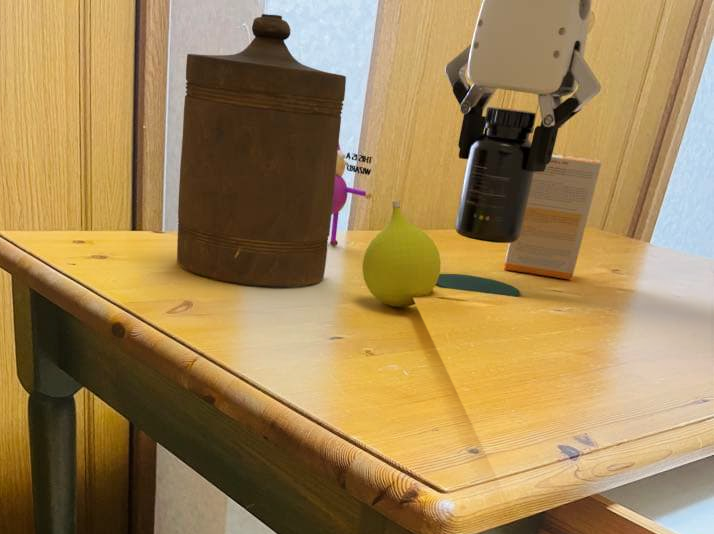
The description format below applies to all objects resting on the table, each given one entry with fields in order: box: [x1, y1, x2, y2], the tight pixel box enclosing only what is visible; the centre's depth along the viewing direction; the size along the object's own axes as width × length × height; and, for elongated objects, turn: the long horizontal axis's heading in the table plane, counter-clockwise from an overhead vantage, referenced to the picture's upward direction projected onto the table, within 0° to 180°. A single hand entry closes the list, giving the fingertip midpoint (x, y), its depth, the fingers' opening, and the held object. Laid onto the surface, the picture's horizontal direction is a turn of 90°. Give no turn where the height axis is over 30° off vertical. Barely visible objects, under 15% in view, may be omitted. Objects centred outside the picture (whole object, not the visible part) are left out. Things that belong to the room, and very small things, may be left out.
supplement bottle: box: [454, 106, 537, 244], centre depth 85 cm, size 7×7×12 cm
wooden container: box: [176, 13, 347, 288], centre depth 80 cm, size 15×15×22 cm
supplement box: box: [504, 153, 602, 281], centre depth 99 cm, size 8×5×13 cm, turn 77°
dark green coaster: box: [435, 273, 521, 298], centre depth 91 cm, size 10×10×1 cm
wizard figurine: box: [329, 143, 373, 247], centre depth 99 cm, size 11×3×12 cm, turn 49°
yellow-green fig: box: [362, 187, 442, 308], centre depth 76 cm, size 7×7×10 cm
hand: (501, 163), depth 85 cm, fingers closed on supplement bottle, 6 cm apart
